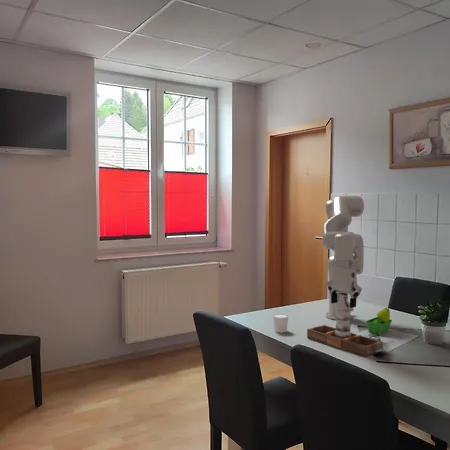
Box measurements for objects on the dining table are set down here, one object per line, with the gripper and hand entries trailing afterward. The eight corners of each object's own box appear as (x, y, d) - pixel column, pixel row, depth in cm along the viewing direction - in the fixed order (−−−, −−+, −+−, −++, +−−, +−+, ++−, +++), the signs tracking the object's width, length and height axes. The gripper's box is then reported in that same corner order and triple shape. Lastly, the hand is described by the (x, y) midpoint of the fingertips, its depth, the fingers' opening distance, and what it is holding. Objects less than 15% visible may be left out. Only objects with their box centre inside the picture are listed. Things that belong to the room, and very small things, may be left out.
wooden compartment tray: (323, 333, 205) (323, 323, 205) (382, 351, 181) (382, 340, 181) (306, 338, 199) (306, 328, 199) (364, 357, 174) (365, 346, 174)
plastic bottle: (348, 345, 186) (349, 296, 185) (332, 342, 189) (332, 294, 188) (353, 340, 191) (353, 293, 190) (337, 338, 195) (337, 291, 194)
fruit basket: (376, 327, 215) (377, 303, 215) (395, 331, 209) (395, 306, 208) (364, 332, 207) (365, 307, 207) (383, 336, 201) (383, 311, 200)
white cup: (271, 329, 213) (271, 314, 213) (286, 328, 214) (286, 313, 213) (274, 333, 206) (274, 318, 206) (289, 332, 207) (289, 317, 206)
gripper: (367, 265, 183) (366, 307, 184) (333, 260, 197) (333, 299, 198) (355, 267, 179) (354, 310, 180) (321, 262, 193) (321, 302, 194)
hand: (343, 305), depth 189 cm, fingers open, 9 cm apart
